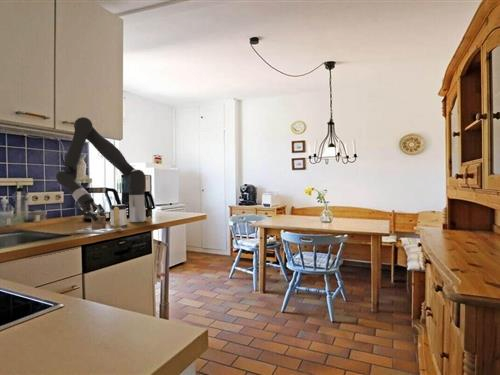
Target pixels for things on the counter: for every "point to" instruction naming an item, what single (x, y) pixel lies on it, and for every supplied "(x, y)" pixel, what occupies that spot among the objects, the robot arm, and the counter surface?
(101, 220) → the walnut block
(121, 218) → the jar
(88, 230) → the drilled plate
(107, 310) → the counter surface
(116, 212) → the brass post
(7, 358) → the counter surface
